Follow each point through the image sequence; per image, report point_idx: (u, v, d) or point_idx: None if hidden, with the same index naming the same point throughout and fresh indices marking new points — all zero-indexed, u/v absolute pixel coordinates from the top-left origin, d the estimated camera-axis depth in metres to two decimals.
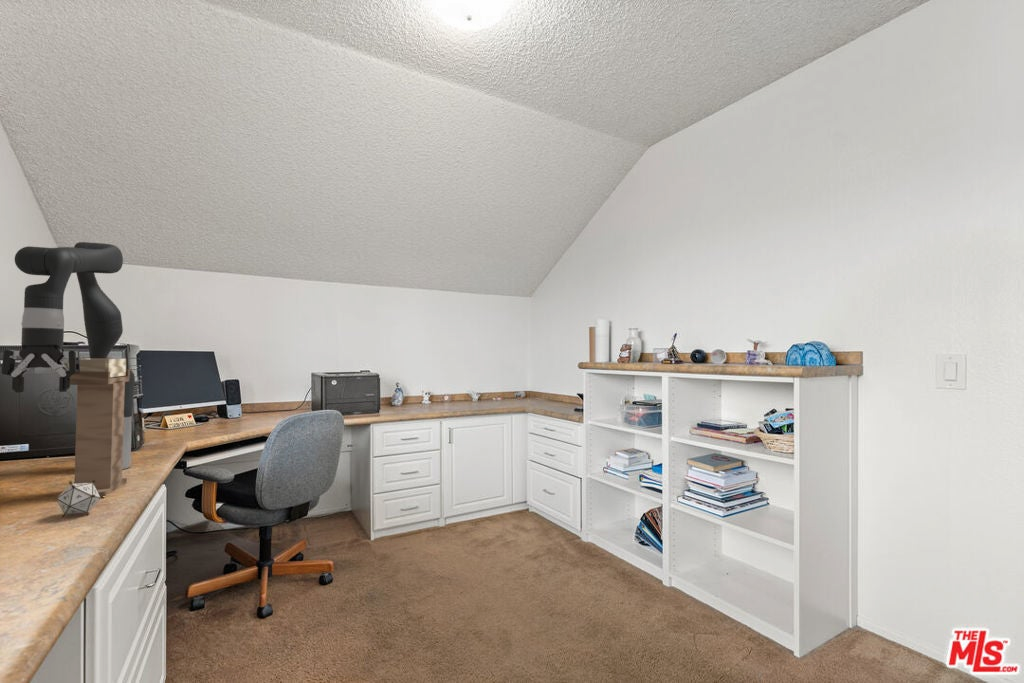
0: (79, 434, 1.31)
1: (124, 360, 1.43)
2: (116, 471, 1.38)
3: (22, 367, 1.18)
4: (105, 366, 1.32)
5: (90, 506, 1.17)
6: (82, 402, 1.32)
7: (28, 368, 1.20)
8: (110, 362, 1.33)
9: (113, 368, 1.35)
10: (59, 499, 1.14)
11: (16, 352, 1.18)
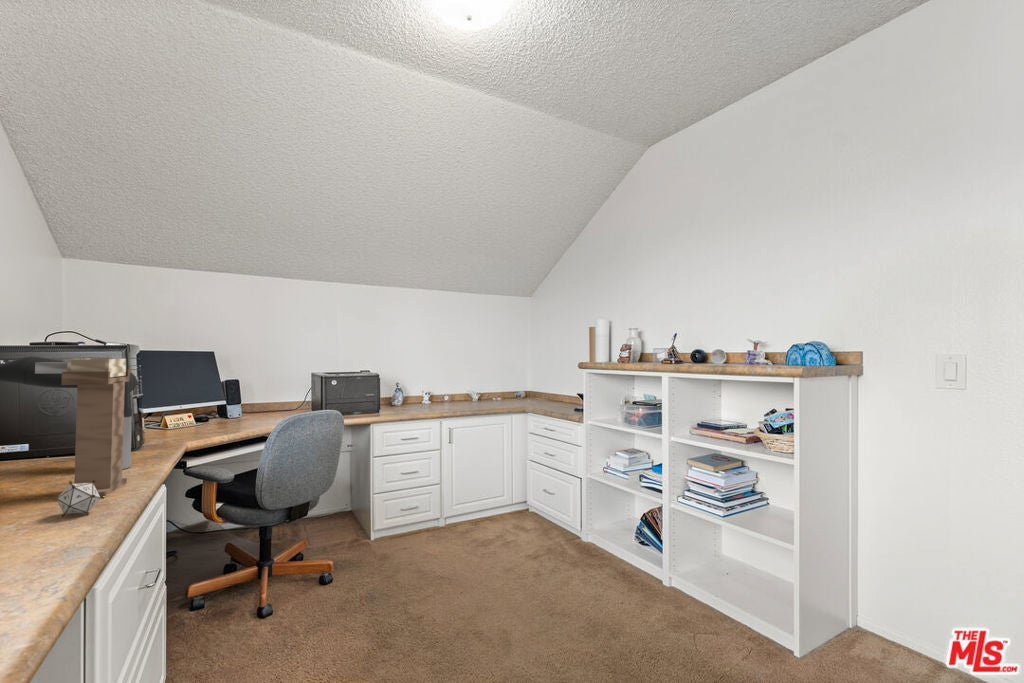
0: (79, 434, 1.31)
1: (124, 360, 1.43)
2: (116, 471, 1.38)
3: None
4: (105, 366, 1.32)
5: (90, 506, 1.17)
6: (82, 402, 1.32)
7: None
8: (110, 362, 1.33)
9: (113, 368, 1.35)
10: (59, 499, 1.14)
11: None
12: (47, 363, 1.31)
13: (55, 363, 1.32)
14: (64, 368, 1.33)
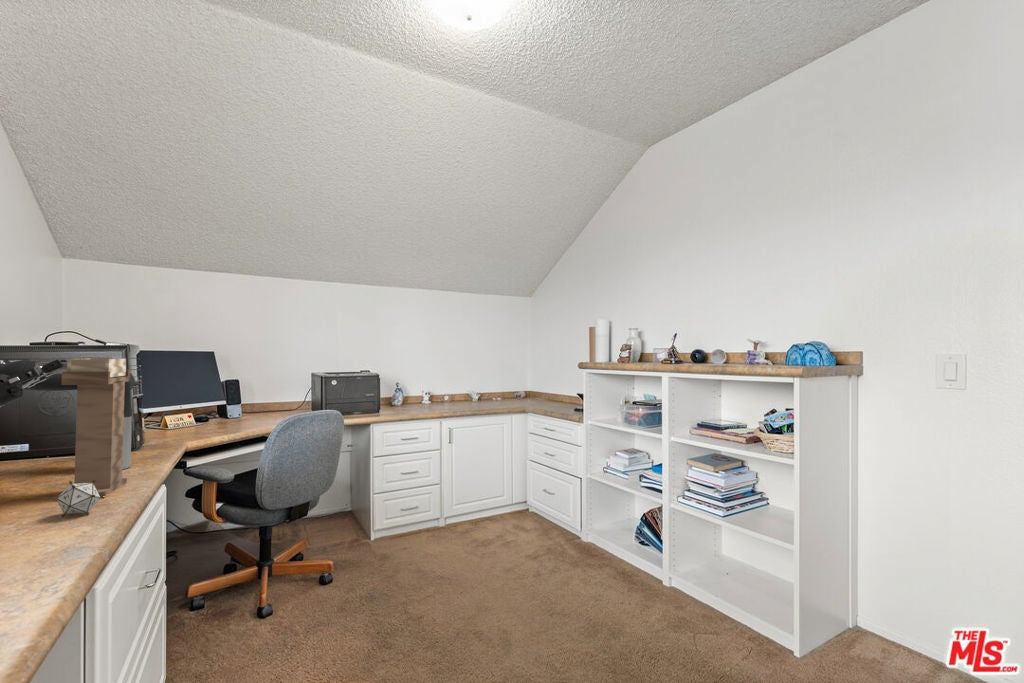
0: (79, 434, 1.31)
1: (124, 360, 1.43)
2: (116, 471, 1.38)
3: (43, 379, 1.33)
4: (105, 366, 1.32)
5: (90, 506, 1.17)
6: (82, 402, 1.32)
7: None
8: (110, 362, 1.33)
9: (113, 368, 1.35)
10: (59, 499, 1.14)
11: None
12: (47, 363, 1.31)
13: None
14: (64, 368, 1.33)
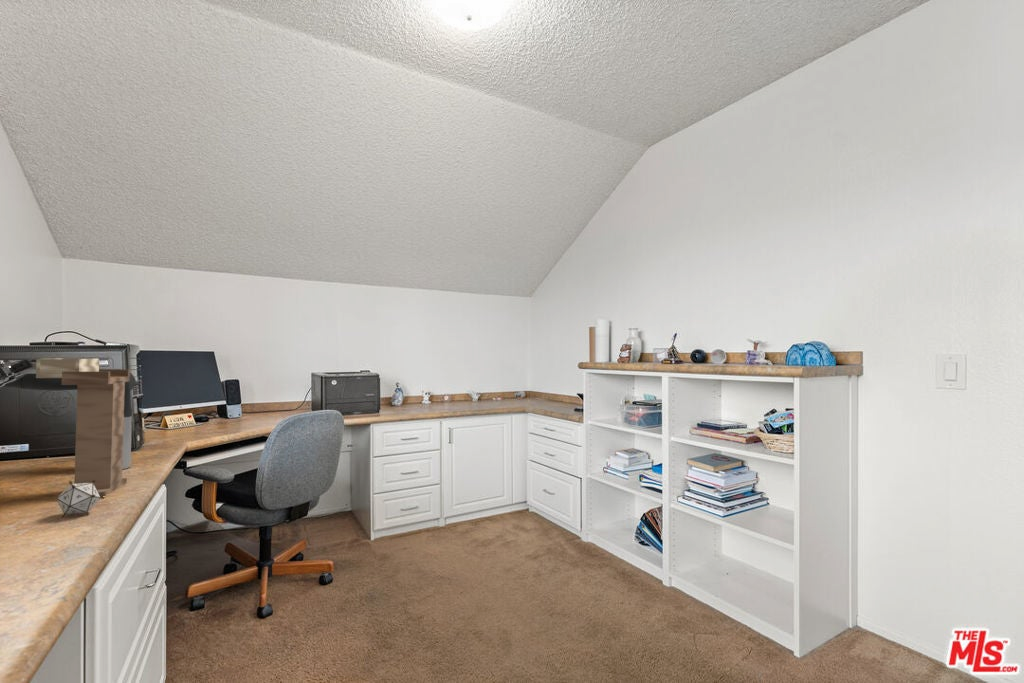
0: (79, 434, 1.31)
1: (97, 360, 1.40)
2: (116, 471, 1.38)
3: (13, 380, 1.31)
4: (75, 366, 1.30)
5: (90, 506, 1.17)
6: (82, 402, 1.32)
7: None
8: (81, 362, 1.31)
9: (84, 368, 1.33)
10: (59, 499, 1.14)
11: None
12: (16, 363, 1.29)
13: None
14: (34, 368, 1.30)
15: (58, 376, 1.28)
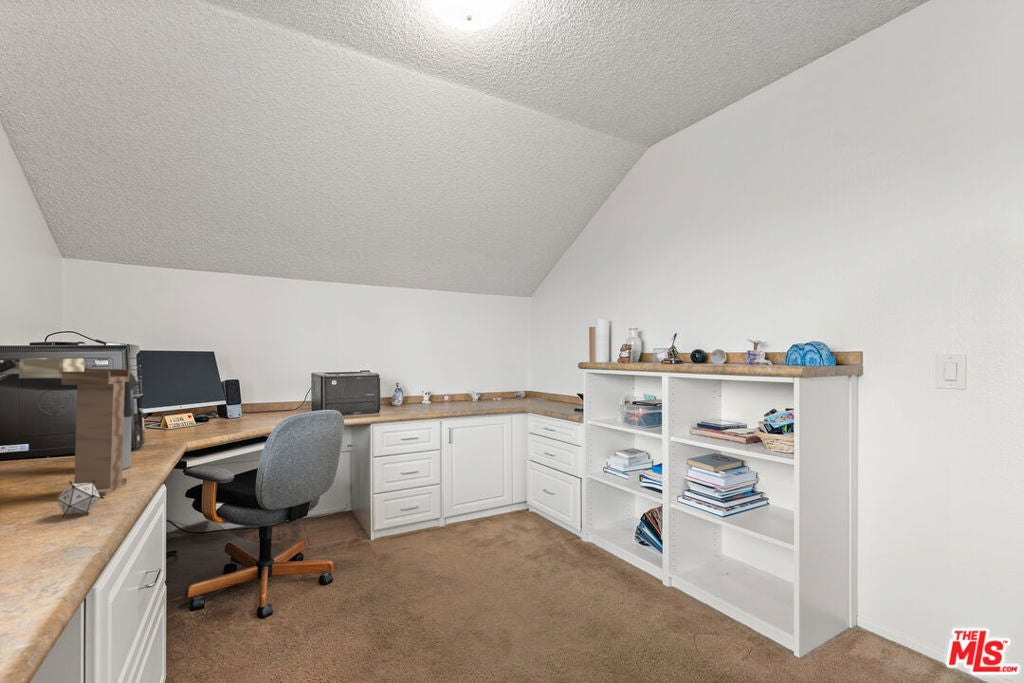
0: (79, 434, 1.31)
1: (82, 360, 1.39)
2: (116, 471, 1.38)
3: None
4: (59, 366, 1.29)
5: (90, 506, 1.17)
6: (82, 402, 1.32)
7: None
8: (65, 362, 1.30)
9: (69, 368, 1.32)
10: (59, 499, 1.14)
11: None
12: None
13: None
14: (18, 368, 1.29)
15: (41, 376, 1.27)
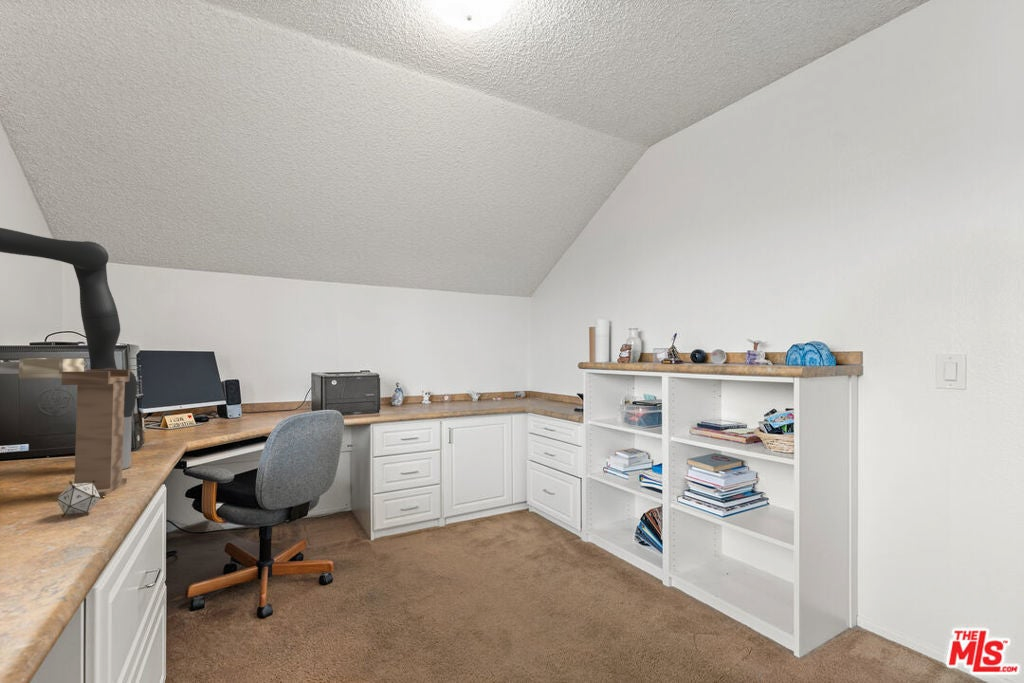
0: (79, 434, 1.31)
1: (82, 360, 1.39)
2: (116, 471, 1.38)
3: None
4: (59, 366, 1.29)
5: (90, 506, 1.17)
6: (82, 402, 1.32)
7: None
8: (64, 362, 1.30)
9: (68, 368, 1.32)
10: (59, 499, 1.14)
11: None
12: None
13: (7, 363, 1.28)
14: (17, 368, 1.29)
15: (41, 376, 1.27)
